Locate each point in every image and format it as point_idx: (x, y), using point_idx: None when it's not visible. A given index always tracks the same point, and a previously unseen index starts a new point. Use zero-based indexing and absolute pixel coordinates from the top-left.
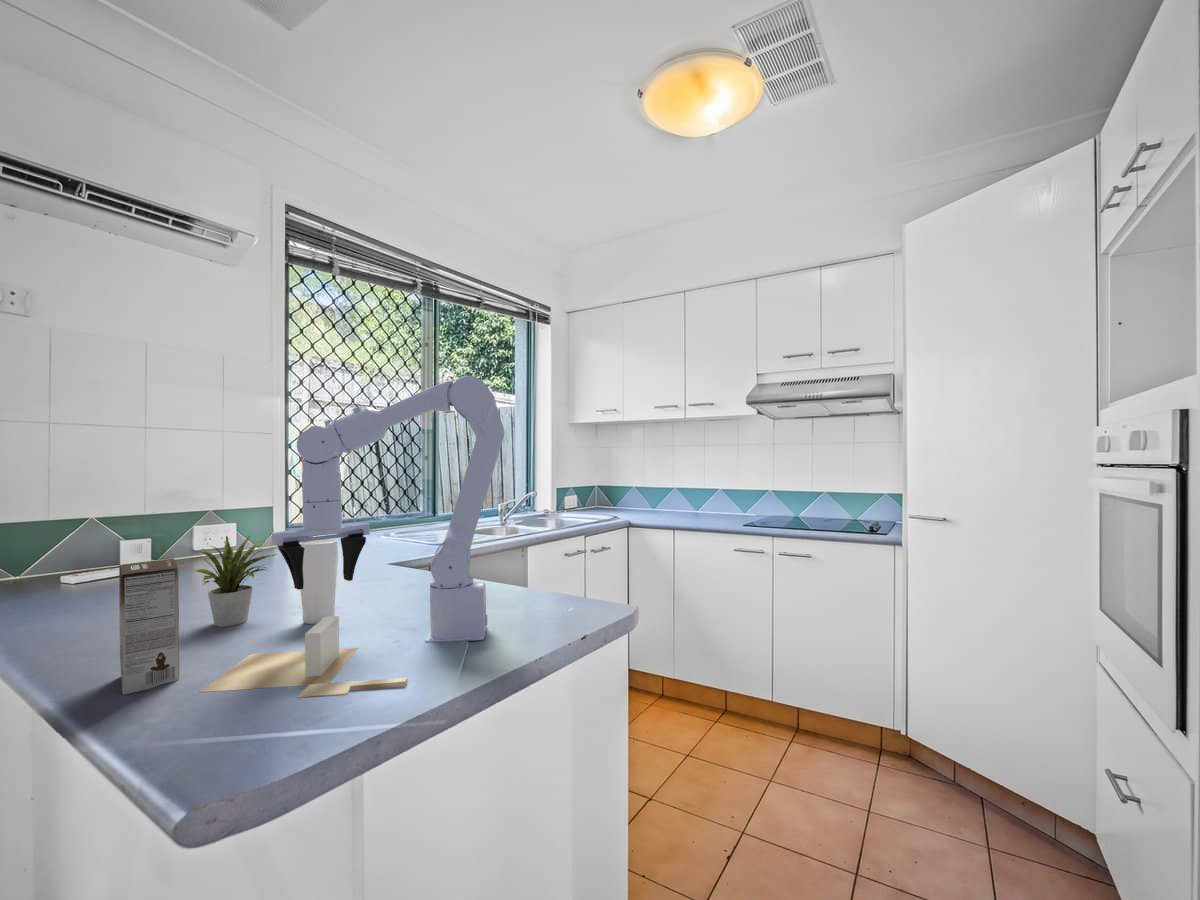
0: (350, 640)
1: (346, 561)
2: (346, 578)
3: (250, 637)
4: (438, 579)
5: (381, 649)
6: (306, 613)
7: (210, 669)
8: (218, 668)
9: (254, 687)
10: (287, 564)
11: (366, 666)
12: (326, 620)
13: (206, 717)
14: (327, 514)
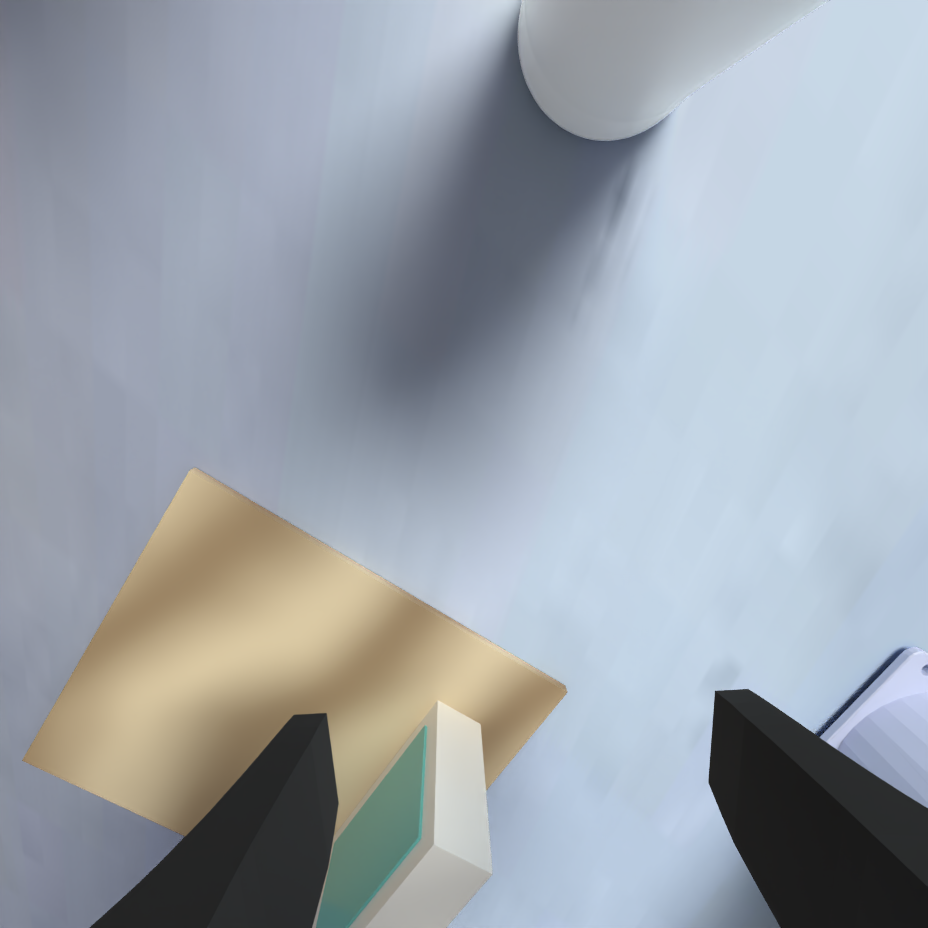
0: (594, 540)
1: (834, 898)
2: (717, 758)
3: (218, 106)
4: None
5: (634, 726)
6: (532, 58)
7: (46, 515)
8: (75, 525)
9: (180, 827)
10: (113, 910)
11: (522, 840)
12: (421, 902)
13: (62, 909)
14: None
